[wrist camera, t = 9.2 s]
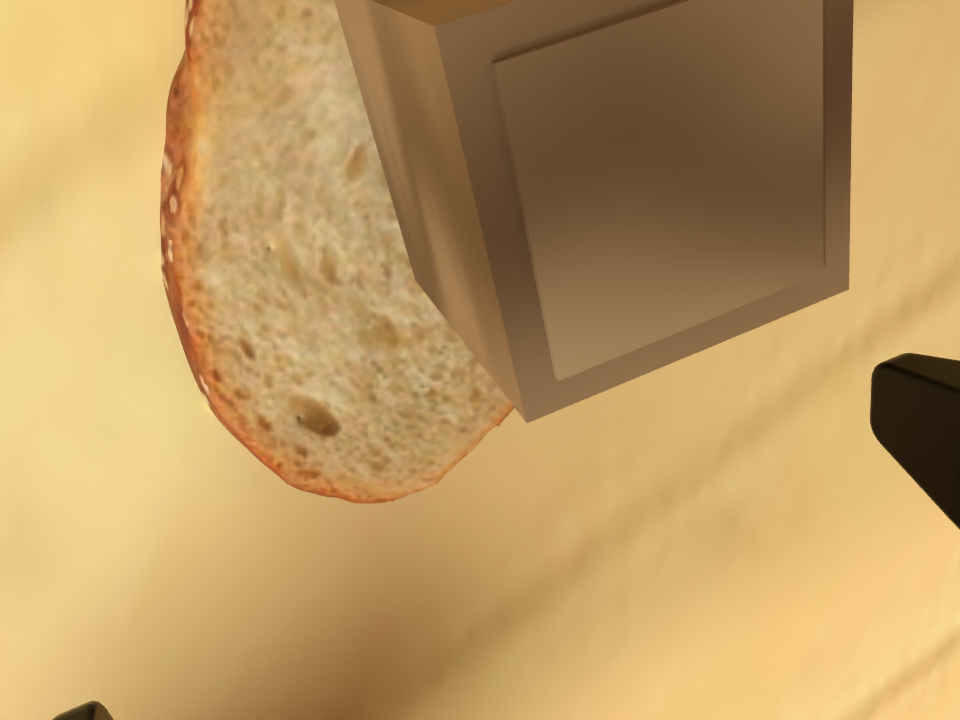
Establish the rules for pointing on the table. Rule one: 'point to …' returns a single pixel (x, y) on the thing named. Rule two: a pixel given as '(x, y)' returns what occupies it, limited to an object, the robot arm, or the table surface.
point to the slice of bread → (304, 264)
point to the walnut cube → (610, 173)
